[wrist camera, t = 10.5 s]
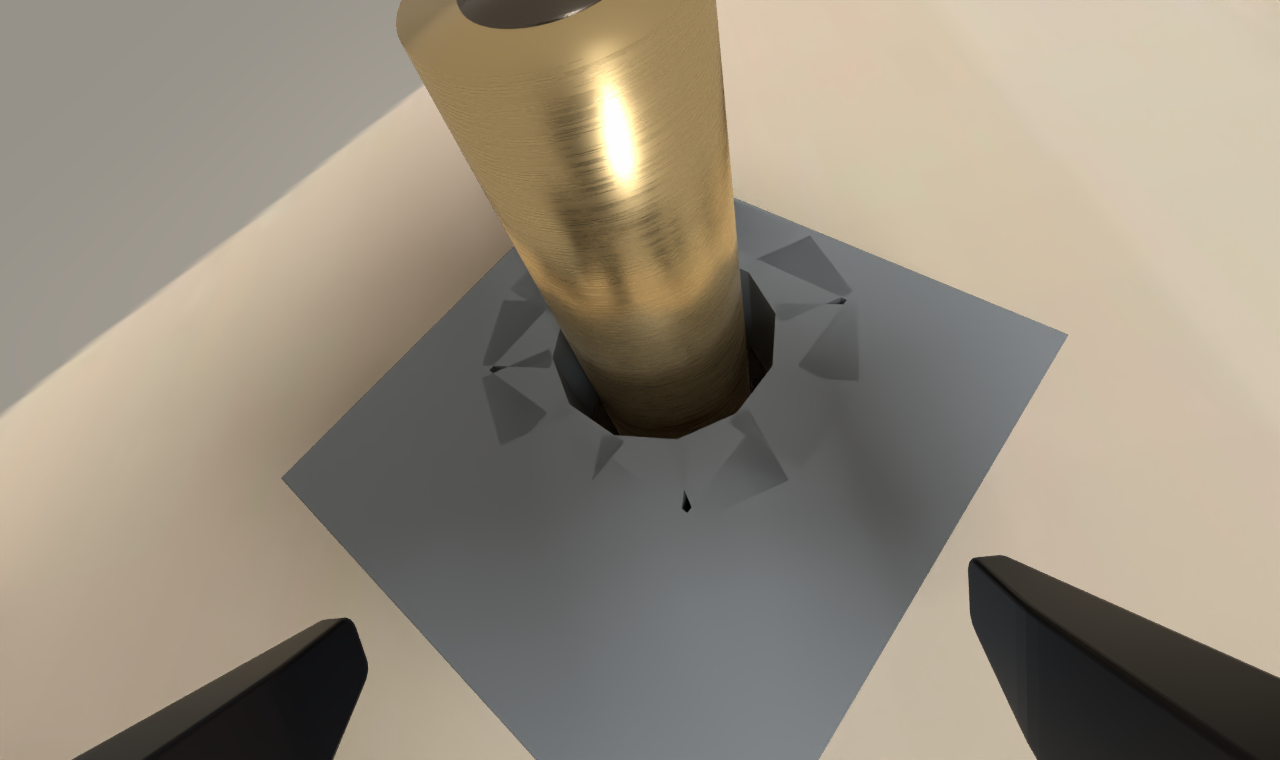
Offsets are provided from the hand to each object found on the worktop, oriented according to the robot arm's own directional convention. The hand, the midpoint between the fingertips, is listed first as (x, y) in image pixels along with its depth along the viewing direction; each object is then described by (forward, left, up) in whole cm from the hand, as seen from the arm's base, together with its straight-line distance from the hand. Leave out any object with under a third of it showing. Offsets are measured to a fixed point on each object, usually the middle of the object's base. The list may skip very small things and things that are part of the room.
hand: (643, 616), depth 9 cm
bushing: (+5, -6, -8) cm, 11 cm away
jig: (+4, -4, -8) cm, 10 cm away
